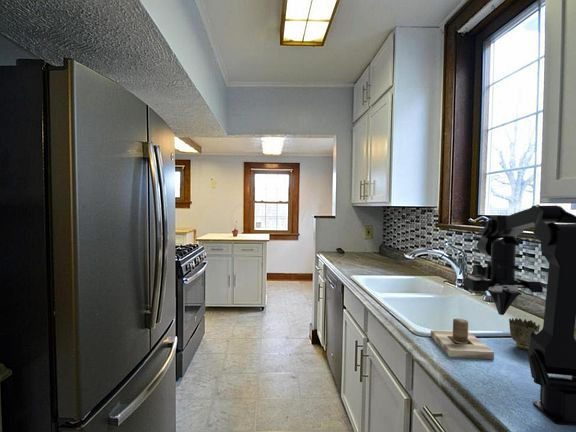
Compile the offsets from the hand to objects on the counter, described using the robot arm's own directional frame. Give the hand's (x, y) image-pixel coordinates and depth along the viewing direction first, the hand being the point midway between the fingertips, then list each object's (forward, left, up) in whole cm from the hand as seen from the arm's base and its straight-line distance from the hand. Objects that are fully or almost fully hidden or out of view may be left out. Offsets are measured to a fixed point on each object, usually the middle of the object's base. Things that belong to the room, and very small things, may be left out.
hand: (501, 314), depth 88 cm
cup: (+6, -11, -12) cm, 17 cm away
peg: (+5, +8, -12) cm, 16 cm away
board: (+5, +8, -12) cm, 16 cm away
